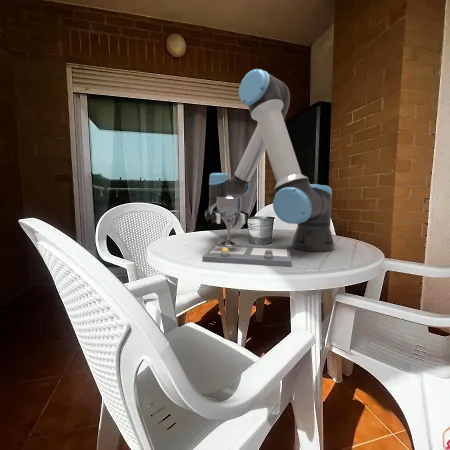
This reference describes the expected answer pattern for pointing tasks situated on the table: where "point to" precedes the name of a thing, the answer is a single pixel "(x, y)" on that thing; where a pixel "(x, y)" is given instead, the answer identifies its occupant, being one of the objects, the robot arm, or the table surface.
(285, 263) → the indicator board
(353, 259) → the table surface
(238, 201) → the wine glass
